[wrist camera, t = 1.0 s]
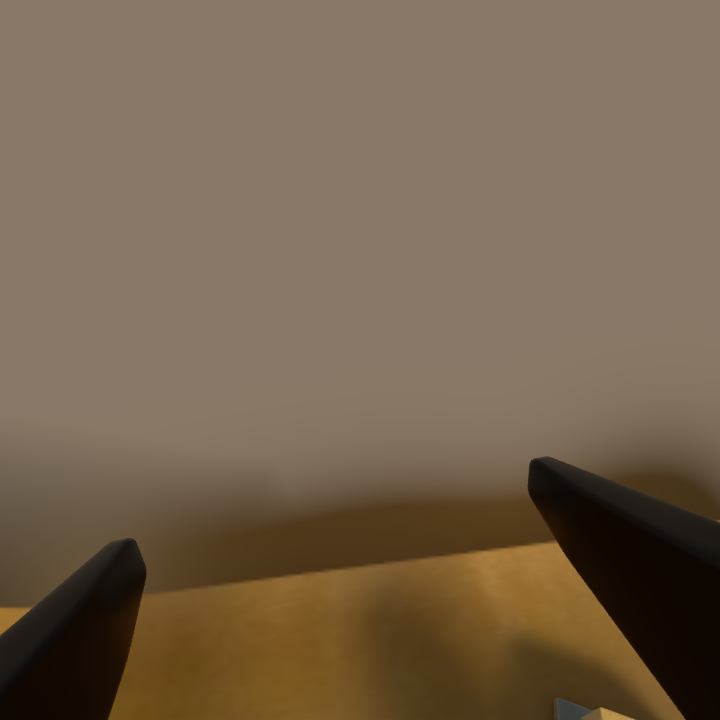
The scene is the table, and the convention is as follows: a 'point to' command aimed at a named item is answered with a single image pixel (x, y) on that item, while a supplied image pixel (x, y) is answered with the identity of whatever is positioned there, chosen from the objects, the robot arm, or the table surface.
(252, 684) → the table surface
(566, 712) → the butter dish
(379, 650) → the table surface
